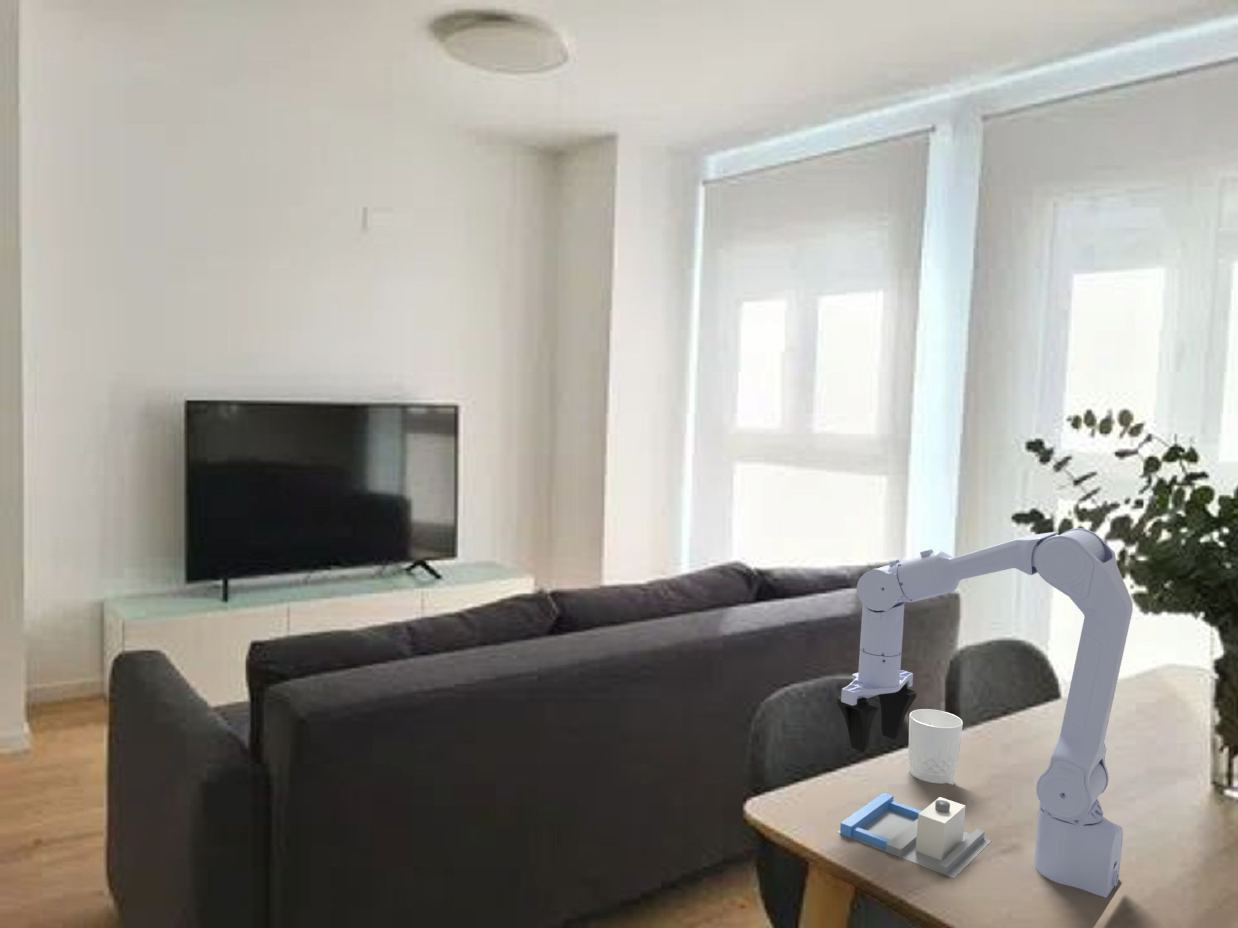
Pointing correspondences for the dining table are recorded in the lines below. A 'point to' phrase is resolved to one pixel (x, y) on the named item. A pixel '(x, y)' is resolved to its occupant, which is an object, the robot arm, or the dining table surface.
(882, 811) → the board
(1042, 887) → the dining table surface
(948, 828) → the white knob-topped box
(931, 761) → the white cup
